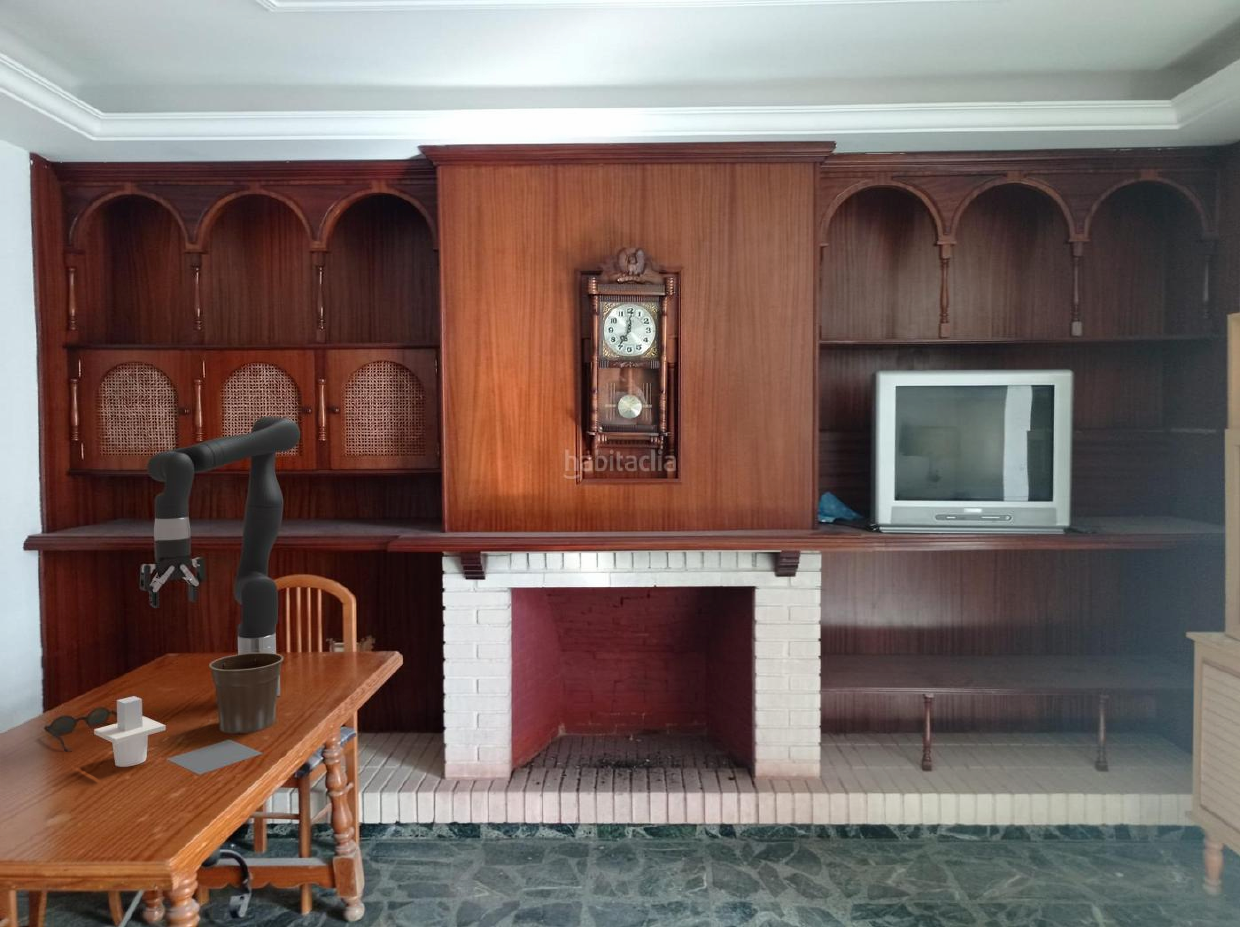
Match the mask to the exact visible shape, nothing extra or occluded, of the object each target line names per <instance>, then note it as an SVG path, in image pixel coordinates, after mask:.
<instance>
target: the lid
mask: <svg viewBox="0 0 1240 927" xmlns="http://www.w3.org/2000/svg"><path fill="white" fill-rule="evenodd" d="M116 712H117V716H116V717H117V719H116V720H117V721H116V723H113V724H110V725H106V726H105V725H104V726H102V727H98V728H94V730H93V732H94V733H93V734H94V736H95V735H96V736H97V737H100V738H101V739H104V740H106V741H108V742H110V743H111V744H112V743H114V744H118V743H122V742H125V741H129V740H132V739H136V738H139V737H143V736H146V735H148V736H149V735H153V734H155V733H161V732H164V731H166V729H167V728H166V724H163V723H161V722H158V721H156V720H154V719H151V718H149V717H146V716H144V715H143V699H142V698H140V697H137V696H135V695H133V696H128V697H125V698H121V699H116Z"/></svg>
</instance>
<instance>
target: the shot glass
mask: <svg viewBox="0 0 1240 927" xmlns="http://www.w3.org/2000/svg"><path fill="white" fill-rule="evenodd" d="M148 740H149V735H146V736H143V737H139V738H136V739H132V740H129V741H125V742H122V743H118V744H114V743H112V742H111V744H112V749H113V756H114V764H115V766H116V767H121V768H123V767H124V768H126V767H132V766H135V765H140V764H142V763H144V762H145V761H146V760H147V753H148Z"/></svg>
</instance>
